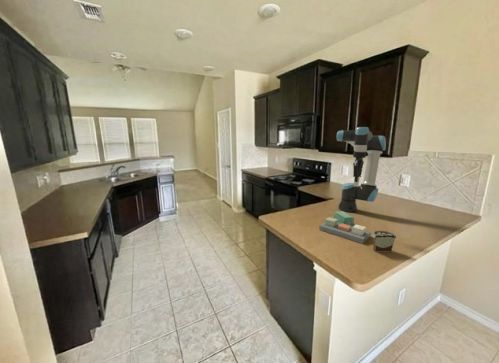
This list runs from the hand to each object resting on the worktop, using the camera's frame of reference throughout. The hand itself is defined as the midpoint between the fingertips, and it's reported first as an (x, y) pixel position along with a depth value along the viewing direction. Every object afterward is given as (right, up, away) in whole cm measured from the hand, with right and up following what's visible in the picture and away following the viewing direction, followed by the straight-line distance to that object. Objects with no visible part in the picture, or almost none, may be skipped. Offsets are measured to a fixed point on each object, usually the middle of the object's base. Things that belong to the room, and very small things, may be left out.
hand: (356, 186), depth 149 cm
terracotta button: (-10, -30, -4) cm, 32 cm away
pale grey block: (-3, -29, -10) cm, 31 cm away
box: (-4, -28, +12) cm, 31 cm away
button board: (-10, -31, -3) cm, 33 cm away
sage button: (-16, -27, +2) cm, 31 cm away
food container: (+2, -35, -23) cm, 42 cm away
